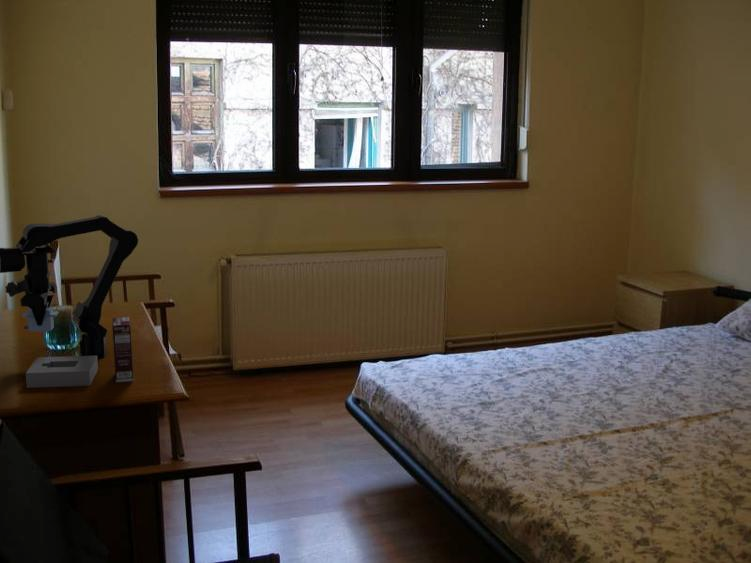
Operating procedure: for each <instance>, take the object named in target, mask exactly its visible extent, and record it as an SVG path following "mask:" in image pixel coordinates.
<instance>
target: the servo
mask: <svg viewBox="0 0 751 563" xmlns="http://www.w3.org/2000/svg"><path fill="white" fill-rule="evenodd" d="M53 308H54V307H53V306H50V307H47V310H46V313H45V316H44V320H43V323H42V325H41V326H37V323H36V320H35V318H34V315H33V312H32V310H31V309H30V308H29V307H28V309H27V310H26V311H24V313H22V314H21V317H22V318H27V324H24V325H23V329H24V330H28V332H51V331H52V330H53V329H54V328H55V325H54V318H56V317H57V316H58V314H59V311H57V310H55V311H54V309H53Z"/></svg>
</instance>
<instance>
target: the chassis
mask: <svg viewBox="0 0 751 563" xmlns="http://www.w3.org/2000/svg"><path fill="white" fill-rule="evenodd" d="M98 371H99V363H98V358H97V356H82V355H75V356H74V355H73V356H42V357H36V359H35V360H34V361H33V363H32V364H31V365H30V367H29V368H28V369H27V371H26V372H25V379H26V380H25V381H26V382H25V384H26V389H30V388H32V389H33V388H34V389H35V388H57V387H60V388H61V387H84V386H85V387H87V386H91V385H92V382H93V380H94V378H95V377H96V375H97V372H98Z"/></svg>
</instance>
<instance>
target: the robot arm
mask: <svg viewBox="0 0 751 563" xmlns="http://www.w3.org/2000/svg"><path fill="white" fill-rule="evenodd" d="M99 231H101V232H102V233H104V234H105V235H106V236H107V237H108V238H110V242H109V247H108V255H107V257H106V260H105V261H104V264H103V266H102V267H101V270H100V272H99V274H98V276H97V279H96V280H95V283H94V284H93V287H92V289H91V290H90V293H89V295H88V297H87V298H86V299H85V301H83V302H80V301H77V303H76V306H75V308H74V311H72V312H71V315H72V320H71V321H72V323H73V325H74V326H75V327H76V328H77V329H78V330H79V331H80V333H81V336H80V337H81V339H79V340H80V341H79V352H80V353H79V355H80V356H97V359H99V358H105V357H106V355H107V352H108V350H107V349H106V348H107V347H106V346H107V345H106V335H107V333H108V329H107V328H105V327H104V326H102V325H101V324H100V321H101V317H102V310H103V309H102V308H103V305H104V302H105V300H106V298H107V296H108V293H109V292H110V289H111V288H112V286H113V283H114V282H115V279H116V277H117V275H118V272H119V271H120V269H121V267H122V265H123V262H124V261H125V260H126V259H127V258H128V257H130V255H131V254H132V253H133V252H134V250H135V249H136V247H137V246H138V244H139V238H138V235H137V234H136V233H135V232H134V231H132V230H129V229H127V228H124V227H120V226H119V225H117V224H116V223H114V222H113V221H111V220H110V219H109V218H108V217H106V216H103V215H99V214H98V215H96V216H92V217H87V218H81V219H75V220H71V221H65V222H60V223H30V224H27V225H26V226H25V227H24V228H23V230H22V236H21V237H20V239H18V242H17V243H16V245H15V247H0V274H3V273H14V272H21V271H22V269H23V270H24V269H25V267H26V274H25V275H24V278H22V279H18V280H12V281H9V282H7V283H6V286H4V287H5V293H6V294H8V296H9V298H12V297H14V296H15V295H18V294H22V293H23V292H24V295H23V296H22V297H21V298H20V307H28V309H29V308H30V309H31V310H32V312H33V315H34V318H35V320H36V323H37V326H41V325H42V323H43V320H44V316H45V313H46V310H47V307H52V302H53V300H54V297H55V295H54V294H56V293H57V291H58V289H57V288H58V287H57V284H56V283H55V282H53V281H50V276H51V271H50V270H49V259H48V258H49V257H48V254H54V253H56V250H55V249H53V248H52V247H51V246H50V244H52V243H53V242H56V241H57V240H59V239H62V238H68V237H73V236H79V235H85V234H88V233H89V234H90V233H93V232H99ZM50 292H52V294H49V293H50Z"/></svg>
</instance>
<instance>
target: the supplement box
mask: <svg viewBox="0 0 751 563" xmlns="http://www.w3.org/2000/svg"><path fill="white" fill-rule="evenodd" d="M111 320H112V321H111V322H112V325H111V327H112V329H111V330H112V345H113V346H112V348H113V361H114V362H113V363H114V373H115V374H114V375H115V382H116V383H124V382H125V383H126V382H127V383H128V382H134V367H133V366H134V363H133V346H132V334H131V324H130V323H131V321H130V320H131V319H130V316H123V317H122V316H121V317H113V318H112V319H111Z"/></svg>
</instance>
